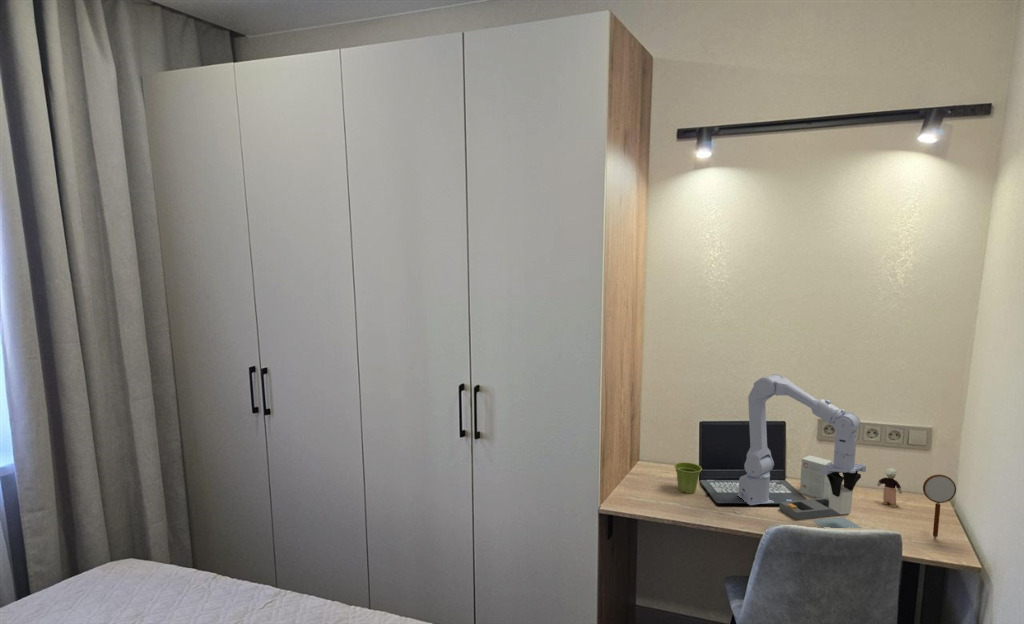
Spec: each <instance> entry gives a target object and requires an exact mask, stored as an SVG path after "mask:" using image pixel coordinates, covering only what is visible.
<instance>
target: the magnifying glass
mask: <svg viewBox="0 0 1024 624" xmlns="http://www.w3.org/2000/svg"><path fill="white" fill-rule="evenodd" d="M922 491H923V495H924V496H925V497H926V498H927V499H928V500H929V501H931V502H932V503H935V505H934V506H935V507H934V508H935V509H934V518H933V527H932V529H933V530H932V536H933V539H934V538H935V539H934V540H936V539H937V537H938V536H939V526H940V525H939V524H940V516H941V515H940V514H941V513H940V512H941V504H942V503H943V504H944V503H947V502H950V501H951V500H952V499H953V498H954V497H955V496H956V492H957V486H956V484H955V481H954V480H953V479H952V478H950V477H949V476H947V475H944V474H933V475H931V476H929V477H927V478H926V480H925V481H924V482H923V485H922Z"/></svg>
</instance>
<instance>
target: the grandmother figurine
mask: <svg viewBox="0 0 1024 624" xmlns="http://www.w3.org/2000/svg"><path fill="white" fill-rule="evenodd" d="M884 475H886V477H883V478H881V479H879V480H878V482H877V483H876V485H877V487H880V486H881V485H884V487H883V494H882V495H883V497H882V498H883V499H882V500H883V502H882V505H885V504H886V505H885V506H888V505H889V506H890V507H892V506H893V507H892V508H896V507H895V506H898V507H899V505H898V503H897V491H898V494H903V491H902V486H901V485H900V483H899V482H898V481H897V480H895V479H894V478H896V476H897V470H896V469H895V468H892V467H891V468H887V469H886V470H885V471H884ZM896 488H897V489H896Z"/></svg>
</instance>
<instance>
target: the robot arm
mask: <svg viewBox="0 0 1024 624" xmlns="http://www.w3.org/2000/svg"><path fill="white" fill-rule="evenodd" d="M774 396H786V397H787V396H788V397H790V398H792V399H793V400H795V401H797V402H799V403H801V404H802V405H805V406H807V407H808V408H809V409H810V410H811V412H812V414H813V415H815V416H816V417H817V418H819V419H821V420H822V421H823V422H826V423H827V424H828V425H830V426H832V428H833V429H834V431H835V437H834V449H833V461H832V464H830V465H827V466H823V467H821V473H823V474H825V475H827V477H828V479H829V482H830V485H831V489H832V494H833V495H835V496H837V497H839V495H840V490H841V484H842V485H844V487H845V488H847V489H849V490H850V491H852V492H853V490H854V488H855V486H856V485H857V482H858V481H859V480H860V479H861V478H862V477H861V476H862V474H861V473H858V472H863V473H866V471H867V470H866V469H867V466H866V465H865V464H863V463H855V462H856V450H857V449H856V448H857V430H859V428H860V426H861V420H860V418H859V417H858V416H857V415H856V414H855V413H853V412H849V411H848V412H846V410H845V409H844V408H842V409H841V408H840V407H837V406H836V405H834V404H832V401H831V400H830V399H825V398H824V399H823V398H821V399H816V398H815V397H814V396H812V395H811V394H809V393H808V392H806V391H805V390H803V389H802V388H800V387H799V386H797V385H796V384H794V383H793V382H792V381H791V380H790V379H788V378H787V377H784V376H783V375H781V374H776V373H775V374H772V375H769V376H766V377H765V376H764V377H761V378H759V379H757V380H756V381H755V382H753V386H752V389H751V391H750V392H749V393H748V397H747V399H748V400H747V401H748V419H749V424H748V426H749V443H750V444H749V449H748V451H747V453H746V460H745V462H744V464H743V465H744V470H745V472H746V474H744V475H741V476H740V477H739V479H738V492H737V495H738V496H739V497H740V498H742V499H743V500H744V501H743V500H742V499H741V500H742V501H743V502H744V503H746V502H747V503H746V505H747V504H748V505H749V506H757V505H760V504H762V505H764V504H774V503H775V501H774V500H773V499H771V500H769V499H770V483H771V482H770V481H771V480H770V479H771V473H770V472H771V470H773V469H774V466H775V462H774V459H773V457H772V452H771V450H770V449H769V447H768V437H767V436H768V433H767V432H768V431H767V412H766V411H767V409H766V402H767V401H769V399H771V398H772V397H774ZM841 474H842V476H841ZM739 497H738V498H739ZM740 498H739V499H740Z"/></svg>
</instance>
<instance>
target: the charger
mask: <svg viewBox="0 0 1024 624" xmlns="http://www.w3.org/2000/svg"><path fill="white" fill-rule="evenodd" d="M829 497H830V498H829V507H830V508H831V509H833V510H834V511H836V512H838V513H839V514H851V511H852V502H853V491H850V490H849V489H847V488H845V487H844V484H843V483H842V484H841V490H840V495H839V497H837V496H835V495H833V494H832V489H831V488H830V496H829Z"/></svg>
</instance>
